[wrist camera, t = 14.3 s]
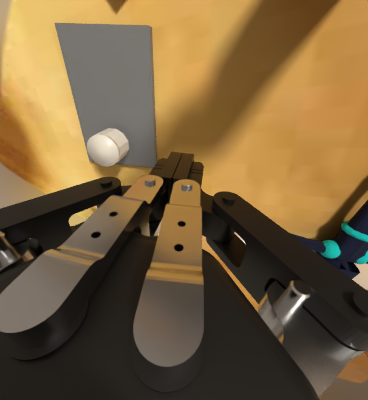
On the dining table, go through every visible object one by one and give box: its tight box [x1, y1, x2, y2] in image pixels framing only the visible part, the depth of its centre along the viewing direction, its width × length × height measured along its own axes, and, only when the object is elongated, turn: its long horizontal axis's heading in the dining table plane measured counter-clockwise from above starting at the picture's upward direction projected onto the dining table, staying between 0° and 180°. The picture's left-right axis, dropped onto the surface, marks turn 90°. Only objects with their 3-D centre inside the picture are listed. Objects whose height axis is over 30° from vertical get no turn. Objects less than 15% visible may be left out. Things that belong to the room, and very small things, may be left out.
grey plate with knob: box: [55, 23, 157, 168], centre depth 35 cm, size 24×16×8 cm, turn 177°
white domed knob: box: [87, 128, 129, 167], centre depth 37 cm, size 6×6×5 cm
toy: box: [290, 200, 368, 279], centre depth 42 cm, size 31×8×30 cm
